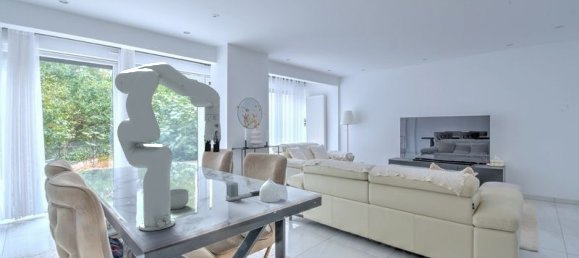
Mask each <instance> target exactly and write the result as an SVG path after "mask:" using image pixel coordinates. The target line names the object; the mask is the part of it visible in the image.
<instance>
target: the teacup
mask: <svg viewBox="0 0 579 258" xmlns="http://www.w3.org/2000/svg"><path fill="white" fill-rule="evenodd" d="M188 202H189V189H186V188H173V189H170V210H179V209H182V208H184V207H185V206H186V205H188Z"/></svg>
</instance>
